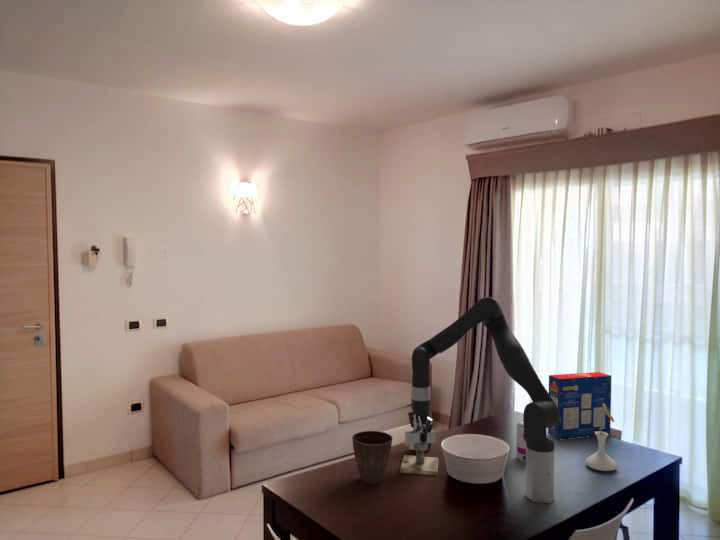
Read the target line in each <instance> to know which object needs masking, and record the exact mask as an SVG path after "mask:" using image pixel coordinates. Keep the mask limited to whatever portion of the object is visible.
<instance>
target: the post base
mask: <svg viewBox="0 0 720 540" xmlns="http://www.w3.org/2000/svg"><path fill="white" fill-rule="evenodd" d="M439 459H440V458H439V457H435V456H434V457H431V456H425V452H418V451H415V455H407V454H404V455H403V458H402V461H401V465H400V469H399V471H400V473H401V474H402V473H403V474H404V473H405V474H416V475H427V476H438V471H439V461H440V460H439Z"/></svg>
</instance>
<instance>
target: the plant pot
mask: <svg viewBox="0 0 720 540" xmlns="http://www.w3.org/2000/svg"><path fill="white" fill-rule="evenodd" d="M351 438H352V439H351V441H352V448H353V454H354V458H355V463H356V467H357V471H358V474H359V476H360V479H361V482H363V483H364V484H368V485H377V484H381V482H382V481H383V479H384V475H385V474H386V473H385V472H386V471H387V470H386V469H387V466H388V464H389V459H390V455H391V450H392V445H393V440H394V439H393V436H392V435H391V434H389V433H387V432H383V431H377V430H365V431H359V432H356V433H354V434H353V435H351Z"/></svg>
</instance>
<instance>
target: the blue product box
mask: <svg viewBox="0 0 720 540" xmlns="http://www.w3.org/2000/svg"><path fill="white" fill-rule="evenodd" d="M548 393H549V395H550V396H551V398H552V399H553V401H554V402H555V404H556V405H557V407H558V410H559V413H560V421H559V423H558V424H557V425H555V426H552V427H549V428H547V435H548V434H550V435H551V436H550V435H549V436H550V437H552V436H553V437H552V438H554V437H555V438H554V439H556V438H557V439H559V440H558V441H561V440H560V439H566V440H570V439H569V438H576V439H578V438H577V437H586V438H588V437H587V436H595V437H597V436H596V434H595V432H597V431H601V429H600V428H601V427H602V425H601V422H600V421H601V420H602V418H603V416H604V414H605V412H606V411H605V409H604V407H603V403H604V404H605V405H606V407H607V410H609V412H610V415H611V410H612V375H610V374H607V373H604V372H599V371H594V372H581V373H579V372H577V373H564V374H549V375H548ZM611 416H612V415H611ZM611 422H612V421H611V419H610V418H609V416H608V415H605V416H604V418H603V420H602V424H603V426H604V427H605V428H604V429H602V432H606V433H608V434H609V435H608V436H611ZM557 439H556V440H557Z"/></svg>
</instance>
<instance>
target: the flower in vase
mask: <svg viewBox="0 0 720 540" xmlns="http://www.w3.org/2000/svg"><path fill="white" fill-rule="evenodd" d="M603 407H604V409H605V411H606V412H605V414H604V416H605V415H608V416H609V418H610V419H611V421H610V422H612V423H614V422H616V421H615V419H614V417H613V416H612V415H610V412H609V410H607V407H606V405H605V404H604V403H603ZM604 416H603V418H604ZM603 418H602V420H603ZM602 420H601V421H600V422H601V425H602V427H601V428H600V429H601V431H597V432H595V434H596V436H595V437H596V438H597V445H598V448H597V451H596V452H594V453H593V454H591V455H589V456H588V457H586V459H585V461H584V462H585V464H586V466H587V467H590V468H591V469H593V470H597V471H601V472H610V471H615V470H616V469H617V468H618V465H617V463H616V462H615V460H614V459H612V458H611V456H609V455H608V454H607V453H606V449H605V444H606V439H607V437H608V436H610V435H609V434H608V433H606V432H602V429H604V428H605V427H604V426H603V424H602Z"/></svg>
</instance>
